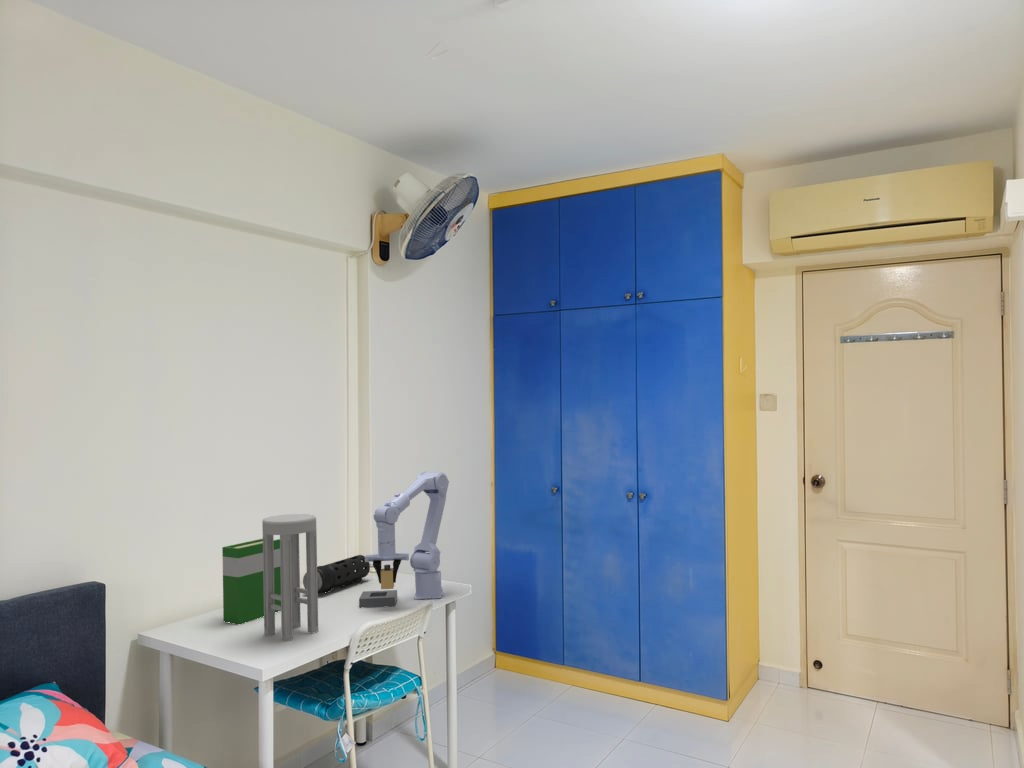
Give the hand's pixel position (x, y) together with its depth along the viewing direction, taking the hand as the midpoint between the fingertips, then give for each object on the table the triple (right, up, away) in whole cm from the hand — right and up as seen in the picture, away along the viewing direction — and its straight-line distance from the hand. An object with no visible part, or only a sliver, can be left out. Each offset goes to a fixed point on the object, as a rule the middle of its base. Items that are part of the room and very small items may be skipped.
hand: (387, 582), depth 247 cm
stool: (-25, -9, -24) cm, 36 cm away
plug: (0, -2, 0) cm, 2 cm away
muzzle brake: (-24, -11, +30) cm, 40 cm away
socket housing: (-4, -9, +7) cm, 13 cm away
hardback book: (-44, -10, -4) cm, 45 cm away
